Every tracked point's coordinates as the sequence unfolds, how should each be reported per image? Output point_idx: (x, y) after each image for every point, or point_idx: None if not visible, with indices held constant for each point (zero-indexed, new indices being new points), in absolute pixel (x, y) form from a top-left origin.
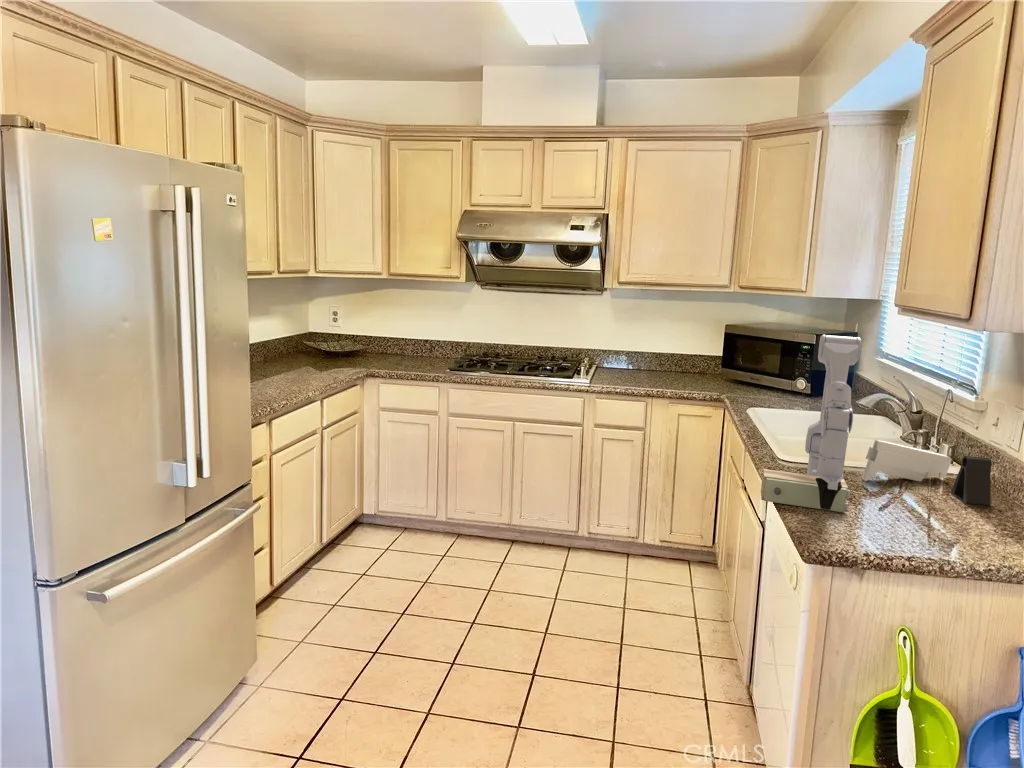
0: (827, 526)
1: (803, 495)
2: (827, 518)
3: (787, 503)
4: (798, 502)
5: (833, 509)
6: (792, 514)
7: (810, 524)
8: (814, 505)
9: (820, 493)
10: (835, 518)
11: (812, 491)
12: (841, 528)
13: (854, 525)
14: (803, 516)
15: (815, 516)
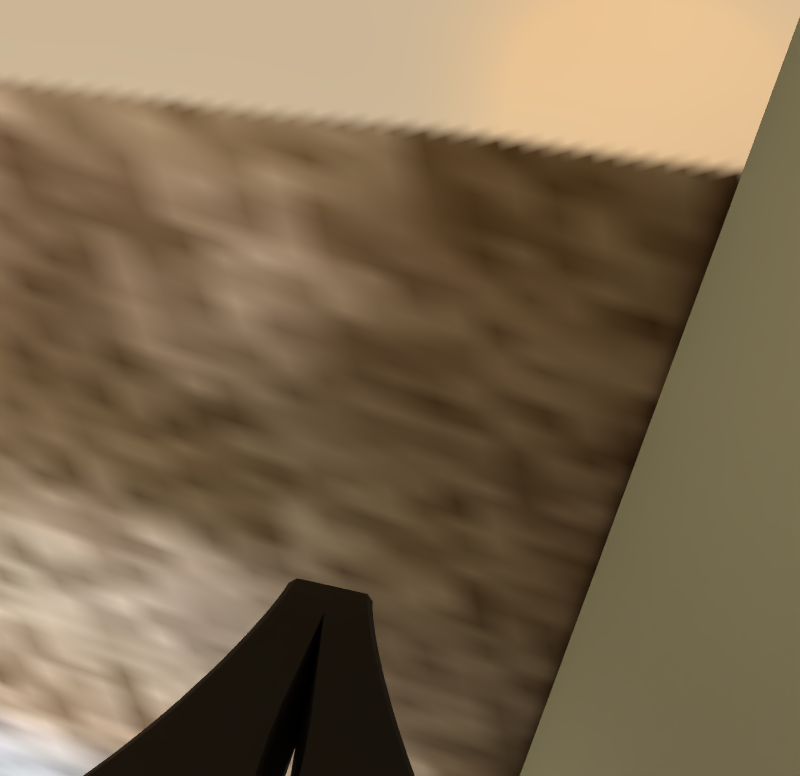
0: (47, 497)
1: (742, 477)
2: None
3: (736, 203)
4: (698, 368)
5: (541, 736)
6: (344, 173)
7: (35, 315)
8: (614, 564)
9: (92, 769)
10: None
11: (738, 680)
12: (44, 620)
13: None
14: (303, 313)
15: (343, 469)
